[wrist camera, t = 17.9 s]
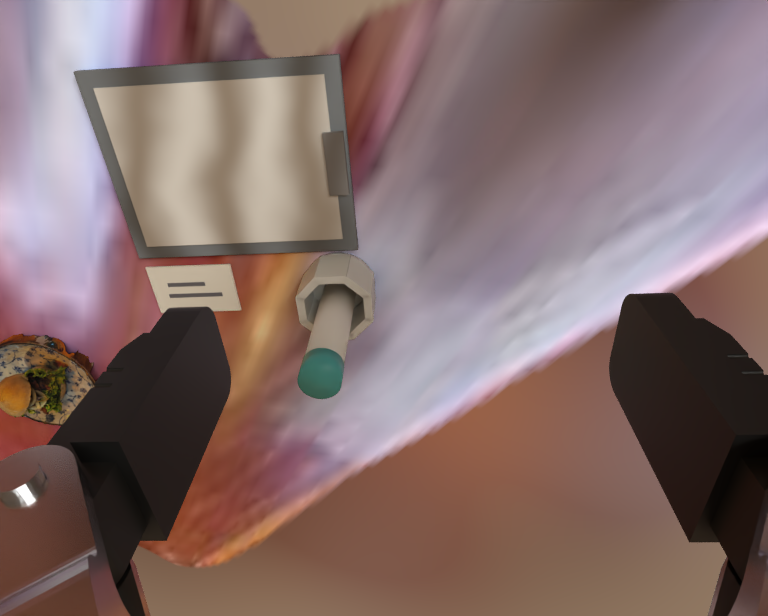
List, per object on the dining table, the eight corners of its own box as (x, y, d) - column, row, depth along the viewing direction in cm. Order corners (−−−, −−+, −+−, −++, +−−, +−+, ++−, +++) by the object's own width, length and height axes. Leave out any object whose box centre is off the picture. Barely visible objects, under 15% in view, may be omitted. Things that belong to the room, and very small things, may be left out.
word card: (146, 266, 48) (145, 268, 48) (230, 263, 47) (229, 265, 47) (162, 311, 50) (161, 313, 50) (241, 309, 50) (240, 310, 50)
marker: (356, 271, 47) (338, 364, 35) (359, 300, 48) (343, 398, 37) (322, 272, 47) (294, 365, 35) (326, 301, 48) (300, 399, 37)
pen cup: (372, 250, 46) (369, 275, 42) (377, 311, 49) (374, 339, 46) (301, 253, 46) (291, 277, 43) (310, 313, 50) (302, 341, 46)
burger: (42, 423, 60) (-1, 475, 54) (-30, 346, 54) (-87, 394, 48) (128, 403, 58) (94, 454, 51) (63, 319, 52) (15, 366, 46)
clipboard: (339, 54, 37) (337, 56, 36) (358, 247, 46) (357, 252, 45) (77, 70, 39) (68, 72, 38) (142, 255, 47) (136, 261, 46)
